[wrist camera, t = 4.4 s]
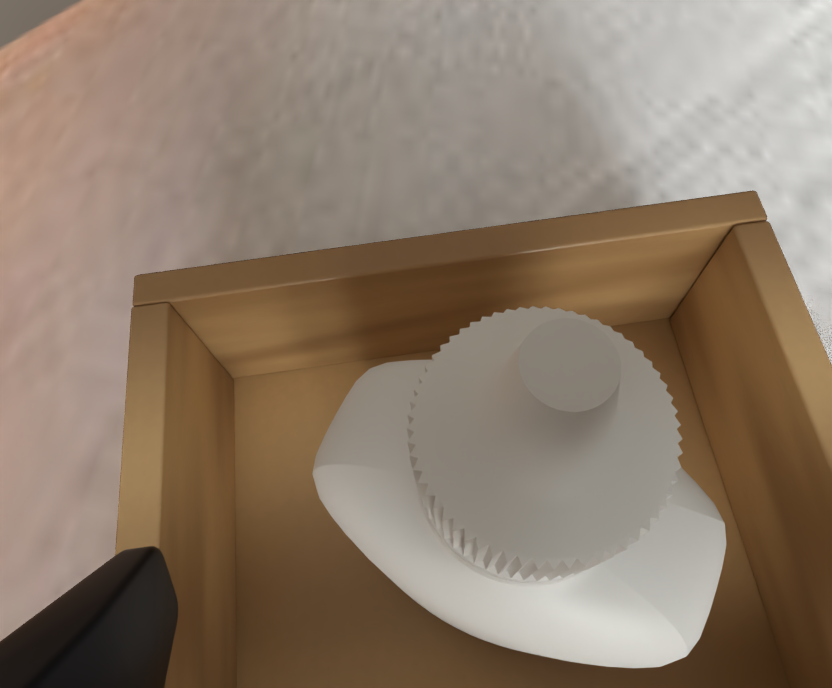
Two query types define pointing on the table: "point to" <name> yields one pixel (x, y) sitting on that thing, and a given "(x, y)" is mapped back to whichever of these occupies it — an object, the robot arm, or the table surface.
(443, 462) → the eye dropper bottle
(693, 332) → the crate
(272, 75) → the table surface
